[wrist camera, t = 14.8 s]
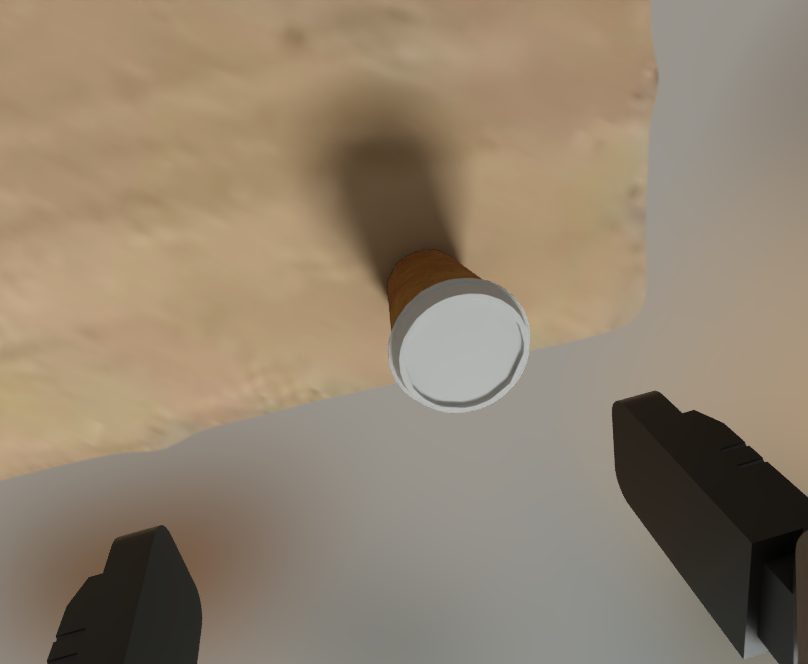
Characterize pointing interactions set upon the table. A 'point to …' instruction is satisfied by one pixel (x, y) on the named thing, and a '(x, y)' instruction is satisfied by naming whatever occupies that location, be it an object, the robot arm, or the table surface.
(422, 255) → the disposable coffee cup
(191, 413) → the table surface
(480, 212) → the table surface
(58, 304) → the table surface
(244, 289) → the table surface
